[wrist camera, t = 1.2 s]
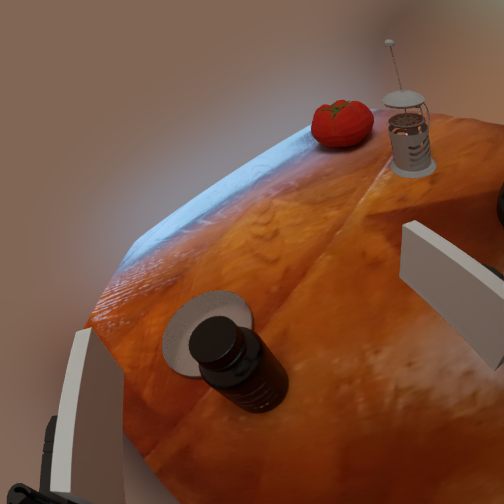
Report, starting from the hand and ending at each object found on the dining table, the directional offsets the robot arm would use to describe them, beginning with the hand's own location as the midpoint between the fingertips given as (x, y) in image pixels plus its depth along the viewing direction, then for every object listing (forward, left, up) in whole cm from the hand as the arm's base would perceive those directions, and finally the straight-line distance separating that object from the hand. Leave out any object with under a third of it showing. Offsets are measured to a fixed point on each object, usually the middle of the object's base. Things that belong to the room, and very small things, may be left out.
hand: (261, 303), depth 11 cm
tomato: (-44, -45, -23) cm, 67 cm away
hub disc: (+6, -22, -22) cm, 32 cm away
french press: (-43, -24, -23) cm, 54 cm away
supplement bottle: (+4, -10, -23) cm, 25 cm away
